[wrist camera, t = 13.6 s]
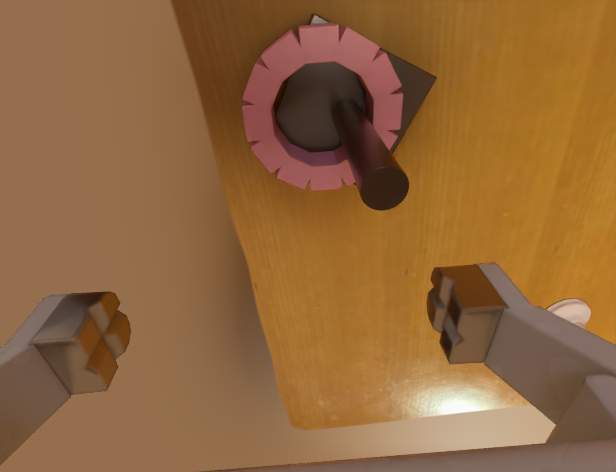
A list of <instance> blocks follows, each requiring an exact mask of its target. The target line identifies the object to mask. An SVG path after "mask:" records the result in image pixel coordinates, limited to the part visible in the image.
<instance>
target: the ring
mask: <svg viewBox="0 0 616 472" xmlns="http://www.w3.org/2000/svg"><path fill="white" fill-rule="evenodd" d="M298 33H299V40H298V38H297V36H296V35H295V33H294V31H293V30H292V29H290V30H289V31H288V32H286V33H285V34H284V35H283V36H281V37H280V38H279V39H278V40H276V41H275V42H274V43H273V44H271V45H270V46H269V47H268V48H266V49H265V50H264V51H263V53H262V54H261V56H260V57H259V58H258V59H257V61H256V62H255V65H254V67H253V70H252V73H251V75H250V78H249V81H248V83H247V86H246V89H245V92H244V94H243V97H242V99H243V100H245V101H244V103H243V105H242V107H241V108H242V114H243V120H244V126H245V132H246V138H247V141H248V142H250V141H252V143H251V147H250V149H251V150H252V151H253V153H254V154H255V155H256V156H257V158H258V159H259V160H260V161H261V163H262V164H263V165H264V166H265V168H266V169H267V170H268V171H269V173H270V174H271V173H273V172H274V171H276V178H278V179H280V180H282V181H285V182H287V183H289V184H292V185H294V186H296V187H299V188H301V189H303V190H304V189H305V188H306V186H307V184H308V182H309V183H310V191H319V190H331V189H342V179H343V181H344V182H345V184H346V185H347V186H350V185H352V184H353V183H355V179H354V176H353V174H352V171H351V168H350V166H349V163H348V160H347V157H346V155H345V152H344V149H343V146H340V147H338V148H337V149H335V150H334V151H325V152H312V153H310V152H308V151H306V150H304V149H302V148H299V147H297V146H295V145H293V144H291V143H290V142H289V141H288V139H287V138H286V137H285V135H284V134H283V133H282V131H281V130H280V128H279V127H278V126H277V124H276V118H275V109H274V101H275V99H276V96H277V94H278V91H279V89H280V87H281V84H282V82H283V81H284V80H285V79H287V78H288V77H289V76H291V75H292V74H293V73H295V72H296V71H297V70H299V69H300V68H301V67H303V66H304V65H305V64H313V63H326V62H336V63H338V64H340V65H342V66H344V67H346V68H347V69H349V70H351V71H353V72H355V73H356V75H357V76H358V78H359V80H360V82H361V84H362V86H363V87H364V89H365V91H366V101H365V116H366V117H367V118H368V120H369V121H370V123H371V124H372V126H373V127H374V129H375V130H376V132H377V133H378V135H379V136H380V137H381V139H382V140H383V142H384V143H385V145H386V146H387V148H388V149H389V150H390V149H391V147H392V145H393V144H394V142H395V141H396V139H397V137H398V135H397V134H396V133H395V132H394V131H393V130H399V129H400V128H401V116H402V103H403V93H401V92H400V91H399V90H398V88H400V87H401V86H402V85H401V83H400V81H399V79H398V77H397V75H396V73H395V71H394V69H393V66H392V64H391V62H390V60H389V58H388V56H387V54H386V53H385V52H383V51H381V50H379V48H380V46H379V45H377V44H376V43H374V42H372V41H371V40H369V39H367V38H365V37H364V36H362V35H360V34H359V33H357V32H355V31H354V30H352V29H350V28H348V27H346V26H343V25H340V27H339V25H337V24H335V23H326V24H314V25H302V26H298Z"/></svg>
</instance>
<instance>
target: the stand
mask: <svg viewBox="0 0 616 472" xmlns="http://www.w3.org/2000/svg"><path fill="white" fill-rule="evenodd" d="M326 23H331V22H329V21H328V20H326V19H324V18H322V17H320V16H318V15H316V14H314V13H313V14H312V16H311V18H310V21H309V24H308V25H314V24H326ZM379 50H381V51H383V52H385V53H386V54H387V56H388V58H389V60H390V62H391V64H392V66H393V69H394V71H395V73H396V75H397V77H398V79H399V81H400V83H401V85H402V86H401V87H400V88H398V90H399V91H400V92H401V93H403V103H402V116H401V128H400V129H399V130H393V131H394V132H395V133H396V134H397V135H398V137H397V139H396V141H395V142H394V144H393V145H392V147H391V149H390V150H389V149H388V148H387V146H386V145H385V143H384V142H383V140H382V139H381V137H380V136H379V135H378V133H377V132H376V130H375V129H374V127H373V126H372V124H371V123H370V121H369V120H368V118H367V117H366V116H365V101H366V91H365V89H364V87H363V86H362V84H361V82H360V80H359V78H358V76H357V75H356V73H355V72H353V71H351V70H349V69H347V68H346V67H344V66H342V65H340V64H338V63H336V62H326V63H313V64H305V65H304V66H303V67H301V68H300V69H299V70H297V71H296V72H295V73H293V74H292V75H291V76H289V77H288V80H287V82H286V85H285V88H284V90H283V93H282V96H281V98H280V101H279V104H278V106H277V109H276V112H275V118H276V124H277V126H278V127H279V128H280V130H281V131H282V133H283V134H284V135H285V137H286V138H287V139H288V141H289V142H290V143H291V144H293V145H295V146H297V147H299V148H302V149H304V150H306V151H308V152H310V153H312V152H325V151H334V150H335V149H337V148H338V147H340V146H343V149H344V152H345V155H346V157H347V160H348V163H349V166H350V168H351V171H352V174H353V176H354V179H355V183H353V184H355V185H357V187H358V190H359V193H360V196H361V198H362V200H363V202H364V203H365V204H366V205H367V206H368V207H370V208H372V209H375V210H388V209H391V208H394V207H396V206H397V205H399V204H400V203H401V202H402V201H403V200H404V198H405V197H406V195H407V193H408V189H409V181H408V178H407V176H406V174H405V173H404V171H403V170H402V168H401V167H400V165H399V164H398V162H397V161H396V159H395V158H394V156H393V155H392V154H393V152H394V151H395V149H396V147H397V145H398V144H399V142H400V140H401V139H402V137H403V135H404V133H405V132H406V130H407V128H408V127H409V125H410V123H411V121H412V120H413V118H414V116H415V115H416V113H417V111H418V109H419V108H420V106H421V104H422V103H423V101H424V99H425V97H426V96H427V94H428V92H429V90H430V89H431V87H432V85H433V84H434V82H435V80H436V78H437V77H435V76H433V75H431V74H429V73H427V72H426V71H424V70H422V69H420V68H418V67H416V66H414V65H412V64H410V63H408V62H406V61H404V60H403V59H401V58H399V57H397V56H395V55H393V54H391V53H389V52H387V51H385V50H383V49H381V48H379ZM342 180H343V179H342Z"/></svg>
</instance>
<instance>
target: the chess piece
mask: <svg viewBox="0 0 616 472" xmlns="http://www.w3.org/2000/svg"><path fill="white" fill-rule="evenodd" d="M547 310H548V311H550V312H552V313H554V314H556V315H558V316H560V317H562V318H564V319H566V320H567V321H569V322H571V323H573V324H575V325H577V326H579V327H581V328H583V329H585V330H586V328H585V327H584V325H585V324H586V323H587V321H588V320H589V318H590V315H591V311H590V309H589V307H588V306H587V304H586V303H585V302H584V301H582V300H579V299H567V300H563V301H560V302H558V303H555V304H554V305H552V306H550V307H549V308H548V309H547Z"/></svg>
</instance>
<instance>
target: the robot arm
mask: <svg viewBox="0 0 616 472" xmlns="http://www.w3.org/2000/svg"><path fill="white" fill-rule="evenodd" d="M431 282H432V284H433V286H434V287H433V288H432V289H431V290H430V291H429V292H428V297H427V312H428V316H429V320H430V322H431V325H432V327H433V329H435V330H436V331H438V332H439V333H441V337H440V345H441V347H442V349H443V351H444V353H445V355H446V358H447V360H448V362H449V364H465V363H484V362H485V363H484V364H485V365H486V366H487V367H488V368H489V369H491V370H492V371H493V372H494V373H495V374H496V375H498V376H499V377H500V378H501V379H502V380H504V381H505V382H506V383H507V384H508V385H510V386H511V387H512V388H513V389H514V390H515V391H517V392H518V393H519V394H520V395H521V396H523V397H524V398H525V399H526V400H527V401H529V402H530V403H531V404H532V405H533V406H534V407H536V408H537V409H538V410H539V411H540V412H542V413H543V414H544V415H545V416H546V417H548V418H549V419H550V420H551V421H552V422H553V423H555V424H556V426H555V428H554V429H553V431H552V432H551V434H550V436H549V437H548V439H547V441H546V443H544V444H532V445H519V446H507V447H495V448H483V449H471V450H459V451H446V452H435V453H422V454H411V455H410V454H409V455H397V456H385V457H373V458H360V459H348V460H336V461H324V462H311V463H300V464H288V465H275V466H263V467H251V468H238V469H227V470H214V471H202V472H616V345H615V344H613V343H611V342H609V341H607V340H605V339H603V338H601V337H599V336H597V335H595V334H593V333H591V332H589V331H587V330H585V329H583V328H581V327H579V326H577V325H575V324H573V323H571V322H569V321H567V320H566V319H564V318H562V317H560V316H558V315H556V314H554V313H552V312H550V311H548V310H546V309H544V308H542V307H540V306H536V307H533V306H532V305H531V303H530V302H529V301H528V300H527V299H526V297H525V296H524V295H523V294H522V293H521V291H520V290H519V289H518V288H517V287H516V285H515V284H514V283H513V282H512V280H511V279H510V278H509V277H508V276H507V274H506V273H505V272H504V271H503V270H502V268H501V267H500V266H499V265H498V264H496V263H494V262H490V263H480V264H473V265H461V266H449V267H436V268H434V270H433V271H432V275H431ZM119 305H120V301H119V299H118V298H117V296H116V294H115V293H113V292H91V293H71V294H59V295H50V296H47V297H45V298H44V299H43V300H42V301H41V302H40V303H39V304H38V306H37V307H36V308H35V309H34V310H33V312H32V313H31V314H30V315H29V316H28V318H27V319H26V320H25V321H24V323H23V324H22V325H21V326H20V327H19V328H18V330H17V331H16V332H15V333H14V335H13V336H12V337H11V338H10V339H9V340H8V342H7V343H6V344H5V345H4V347H0V465H1V464H2V463H3V462H4V461H5V460H6V459H7V458H8V457H9V456H10V455H11V454H12V453H13V452H14V451H16V450H17V448H19V447H20V446H21V445H22V444H23V443H24V442H25V441H26V440H27V439H28V438H29V437H30V436H31V435H32V434H33V433H34V432H35V431H36V430H37V429H38V428H39V427H40V426H41V425H42V424H43V423H45V421H47V419H49V418H50V417H51V416H52V415H53V414H54V413H55V412H56V411H57V410H58V409H59V408H60V407H61V406H62V405H63V404H64V403H65V402H66V401H67V400H68V399H69V398H70V397H71V395H74V394H83V393H93V392H102V391H107V390H108V388H109V386H110V383H111V381H112V379H113V377H114V375H115V373H116V371H117V368H118V365H117V362H116V359H117V358H118V357H119V356H121V355H122V354H123V353H124V352H125V351H126V349H127V346H128V344H129V341H130V334H131V329H130V323H129V321H128V318H127V316H126V315H125V314H123V313H122V312H120V311H119V310H117V309H118V307H119Z"/></svg>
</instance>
